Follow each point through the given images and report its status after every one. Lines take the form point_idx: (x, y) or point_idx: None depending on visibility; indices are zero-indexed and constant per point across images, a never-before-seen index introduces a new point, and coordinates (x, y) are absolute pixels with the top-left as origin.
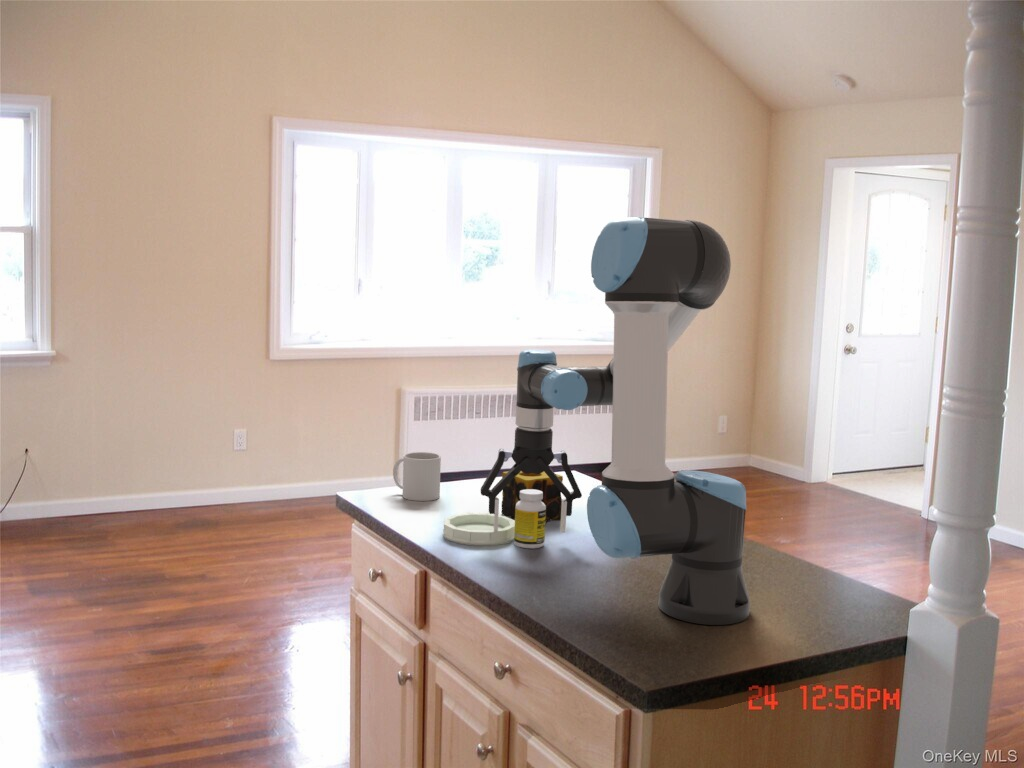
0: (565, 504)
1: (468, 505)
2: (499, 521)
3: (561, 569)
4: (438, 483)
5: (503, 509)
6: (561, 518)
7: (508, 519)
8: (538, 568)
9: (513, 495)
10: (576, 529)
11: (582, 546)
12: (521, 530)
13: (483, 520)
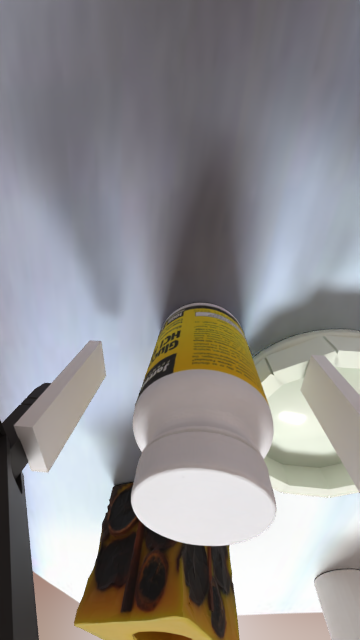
0: (30, 413)
1: (276, 549)
2: None
3: (116, 46)
4: (335, 616)
5: None
6: (86, 387)
7: None
8: (207, 55)
9: (211, 557)
10: (83, 436)
11: (61, 326)
12: (237, 335)
13: (292, 471)
